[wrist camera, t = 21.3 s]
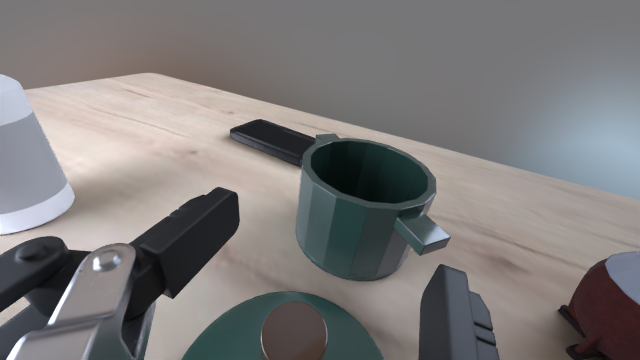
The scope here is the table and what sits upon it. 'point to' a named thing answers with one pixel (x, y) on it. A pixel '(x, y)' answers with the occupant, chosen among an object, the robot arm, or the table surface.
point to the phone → (274, 140)
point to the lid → (285, 332)
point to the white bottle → (27, 166)
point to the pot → (364, 208)
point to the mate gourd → (607, 310)
